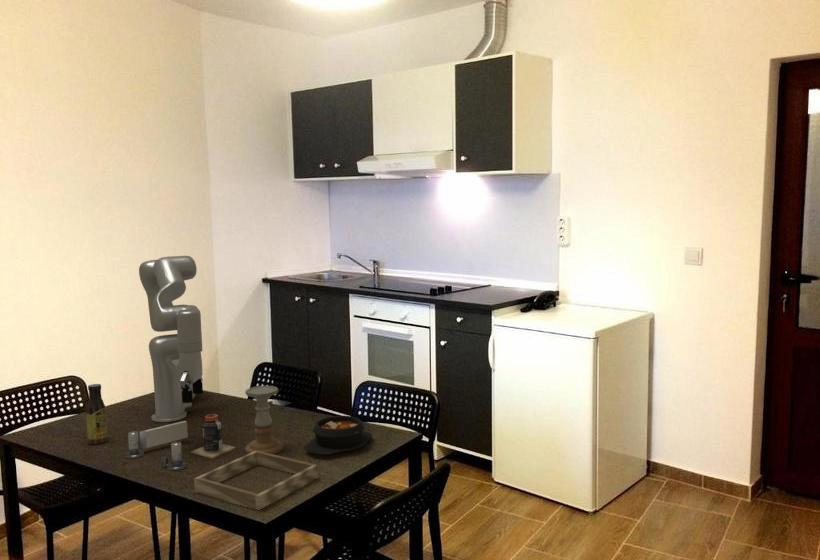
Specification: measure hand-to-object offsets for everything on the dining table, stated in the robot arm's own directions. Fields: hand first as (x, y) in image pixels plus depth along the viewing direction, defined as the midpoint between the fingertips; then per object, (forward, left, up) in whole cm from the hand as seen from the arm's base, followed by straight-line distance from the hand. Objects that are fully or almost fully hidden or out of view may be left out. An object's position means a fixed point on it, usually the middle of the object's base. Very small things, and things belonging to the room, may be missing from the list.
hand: (192, 398), depth 225 cm
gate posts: (+14, -2, -17) cm, 22 cm away
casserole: (-24, +42, -17) cm, 51 cm away
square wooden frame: (+12, +40, -17) cm, 45 cm away
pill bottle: (-1, +7, -17) cm, 18 cm away
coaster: (-1, +8, -17) cm, 19 cm away
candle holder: (-10, +22, -17) cm, 29 cm away
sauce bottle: (+12, -34, -17) cm, 40 cm away
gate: (+5, -10, -16) cm, 19 cm away
